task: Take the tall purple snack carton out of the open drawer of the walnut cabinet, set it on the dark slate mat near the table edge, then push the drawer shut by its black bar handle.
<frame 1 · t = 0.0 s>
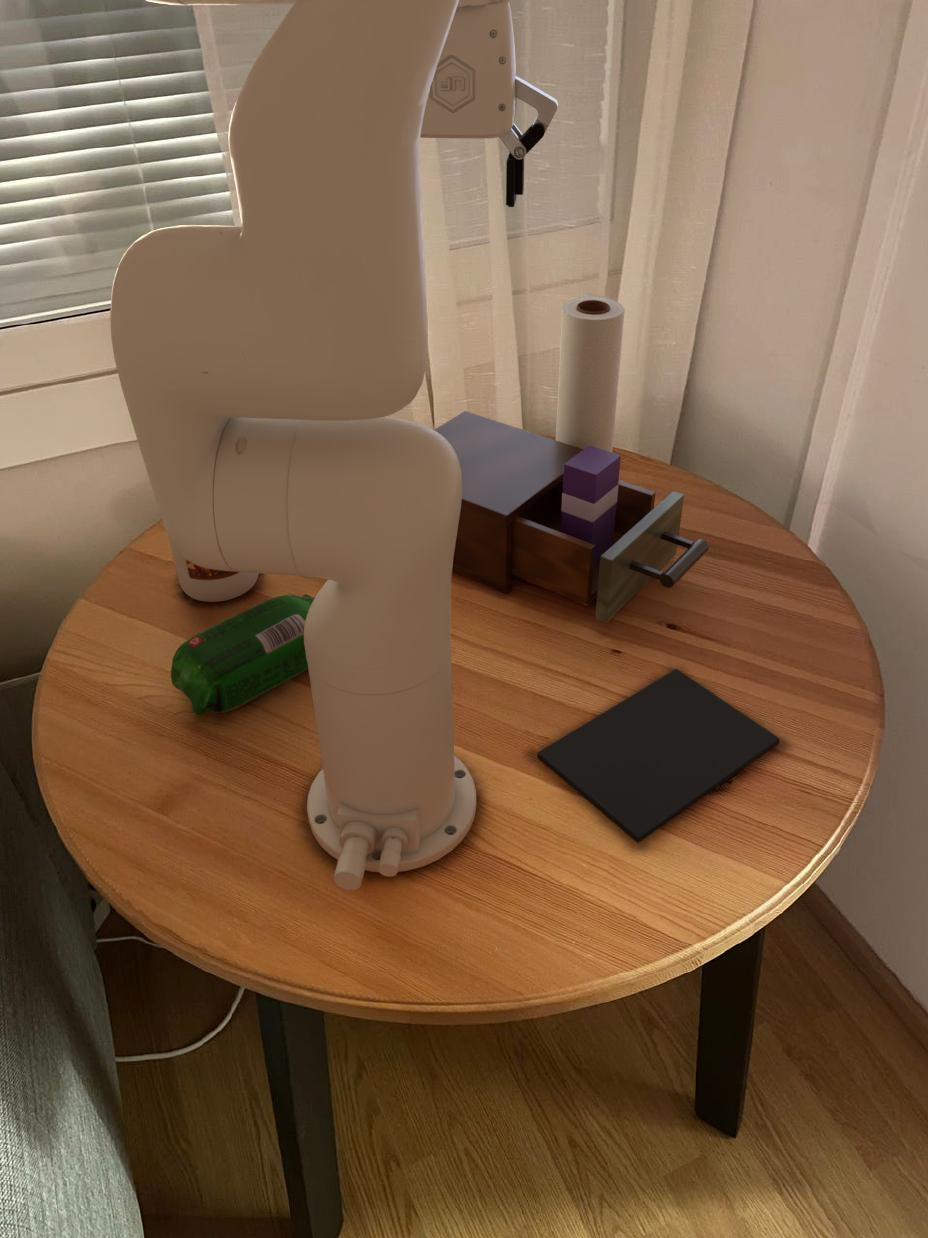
hand: (458, 201, 91), 31 cm above the table, tool pointing down, fingers open, 9 cm apart
mat: (658, 750, 80), on the table
paper towel roll: (582, 495, 111), on the table
cupcake: (295, 530, 106), on the table
cabinet: (484, 533, 105), on the table
snack package: (263, 674, 88), on the table
snack carton: (585, 555, 98), point 2 cm above the table, touching drawer
milk bottle: (220, 582, 99), on the table
drawer: (599, 539, 96), point 4 cm above the table, slide at 9.5 cm, touching snack carton
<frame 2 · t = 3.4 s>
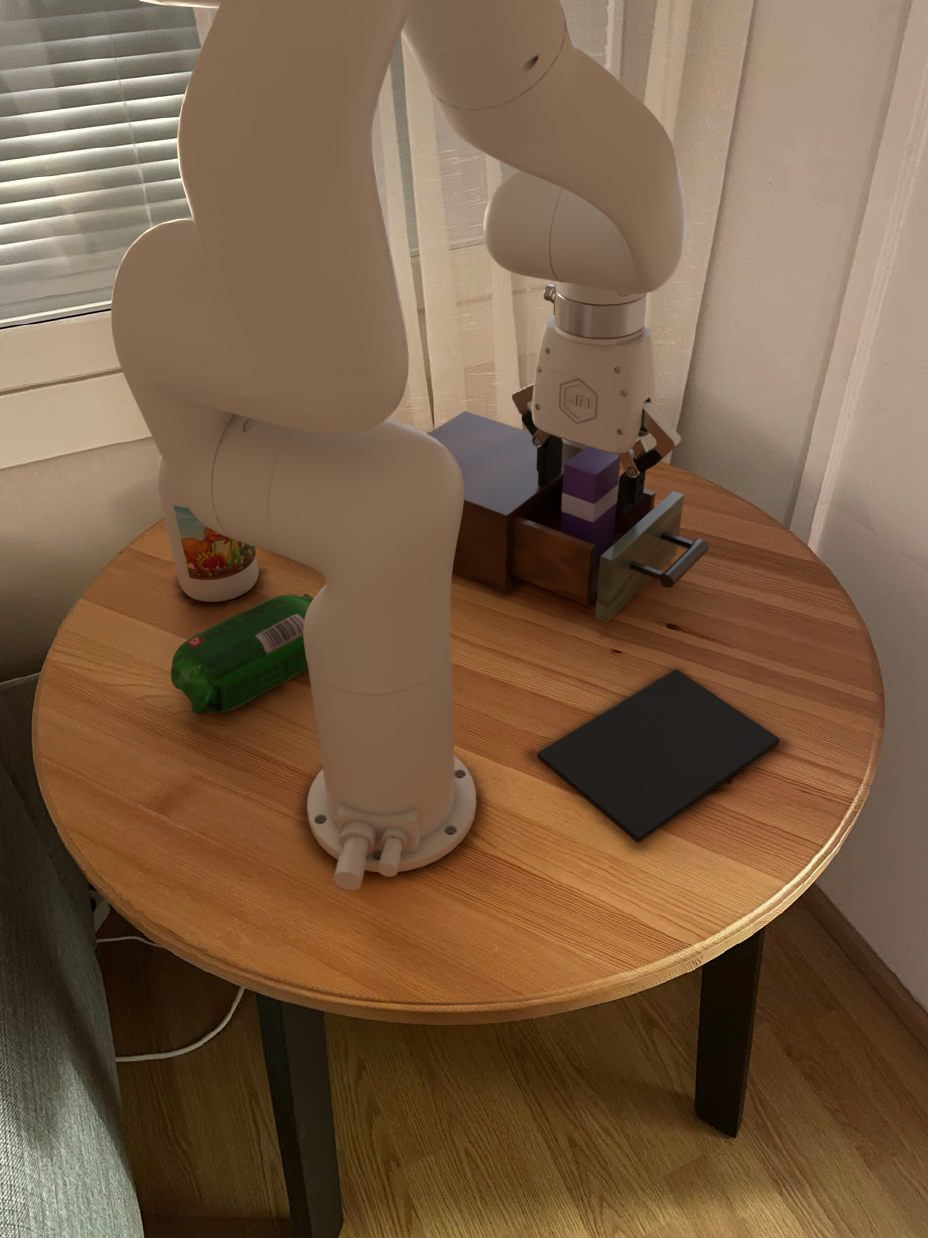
hand: (587, 492, 94), 9 cm above the table, tool pointing down, fingers open, 7 cm apart
nothing on the table moved.
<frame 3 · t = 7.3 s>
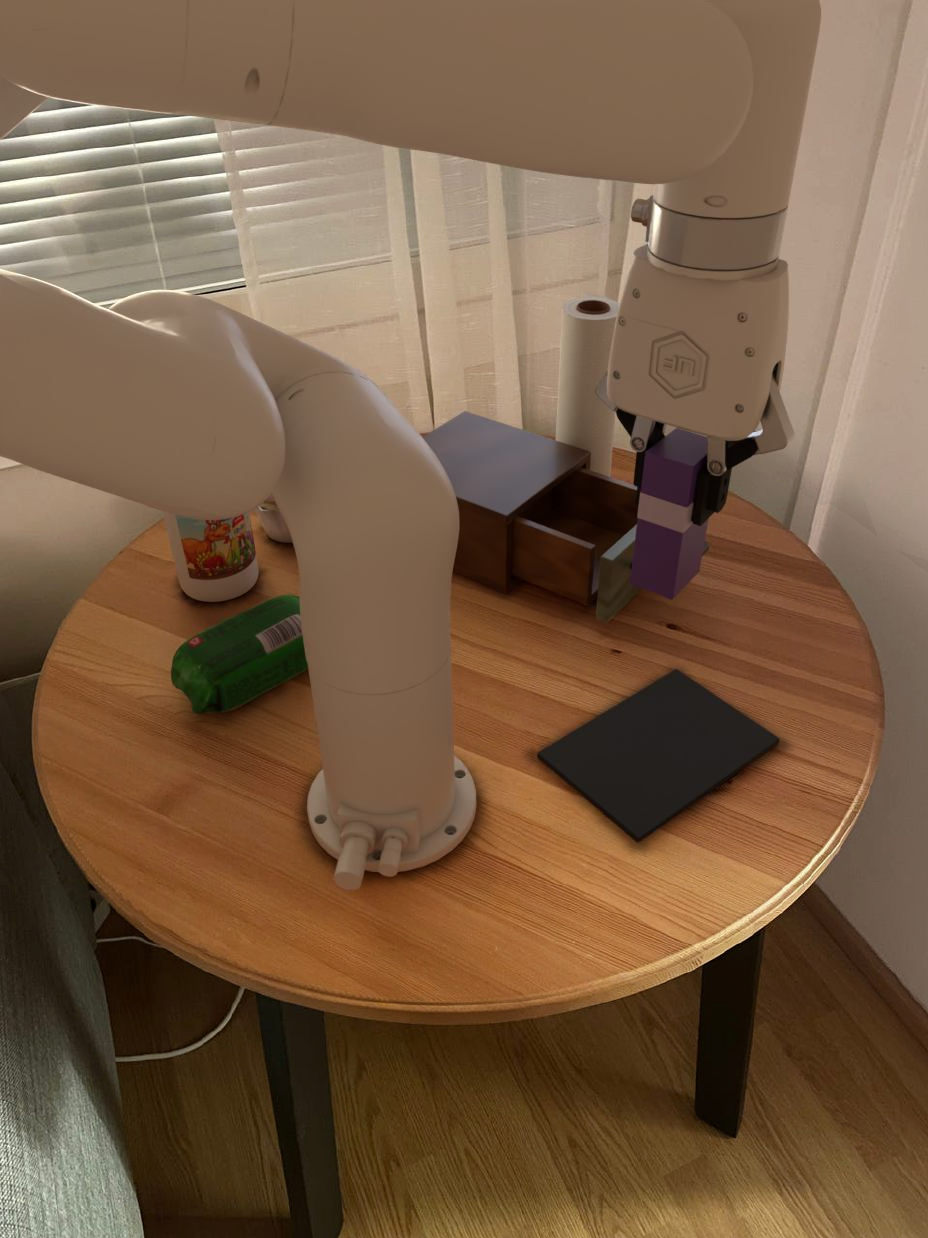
hand: (677, 504, 69), 21 cm above the table, tool pointing down, fingers closed on snack carton, 3 cm apart
snack carton: (664, 577, 72), point 15 cm above the table, touching gripper
drawer: (599, 539, 96), point 4 cm above the table, slide at 9.5 cm
everything else where it was.
when the fingers open (7 cm above the table, at t = 11.0 s): snack carton stays where it is, resting on mat.
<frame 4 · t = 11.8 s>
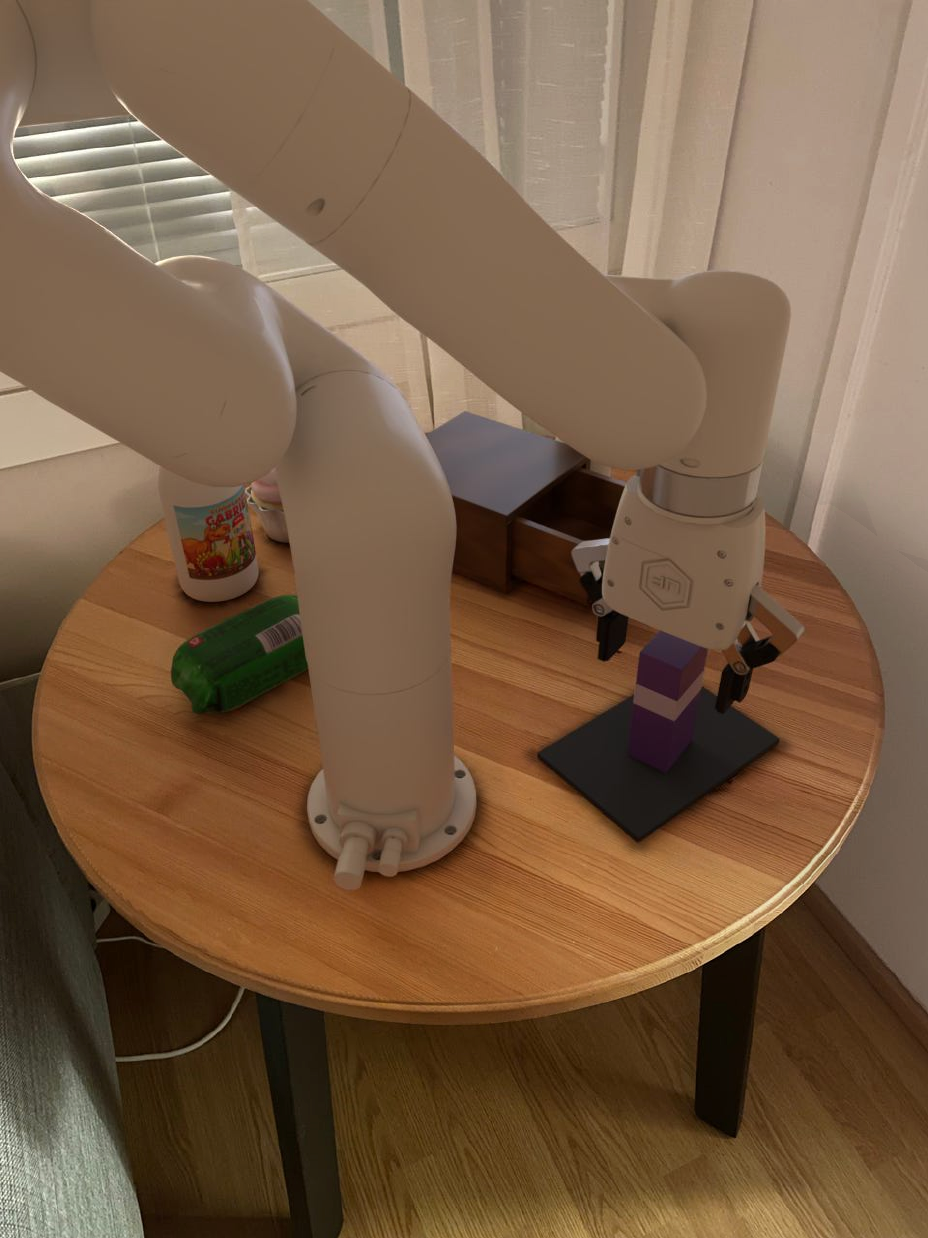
hand: (668, 676, 75), 8 cm above the table, tool pointing down, fingers open, 9 cm apart
snack carton: (659, 747, 79), point 1 cm above the table, touching mat
everything else where it was.
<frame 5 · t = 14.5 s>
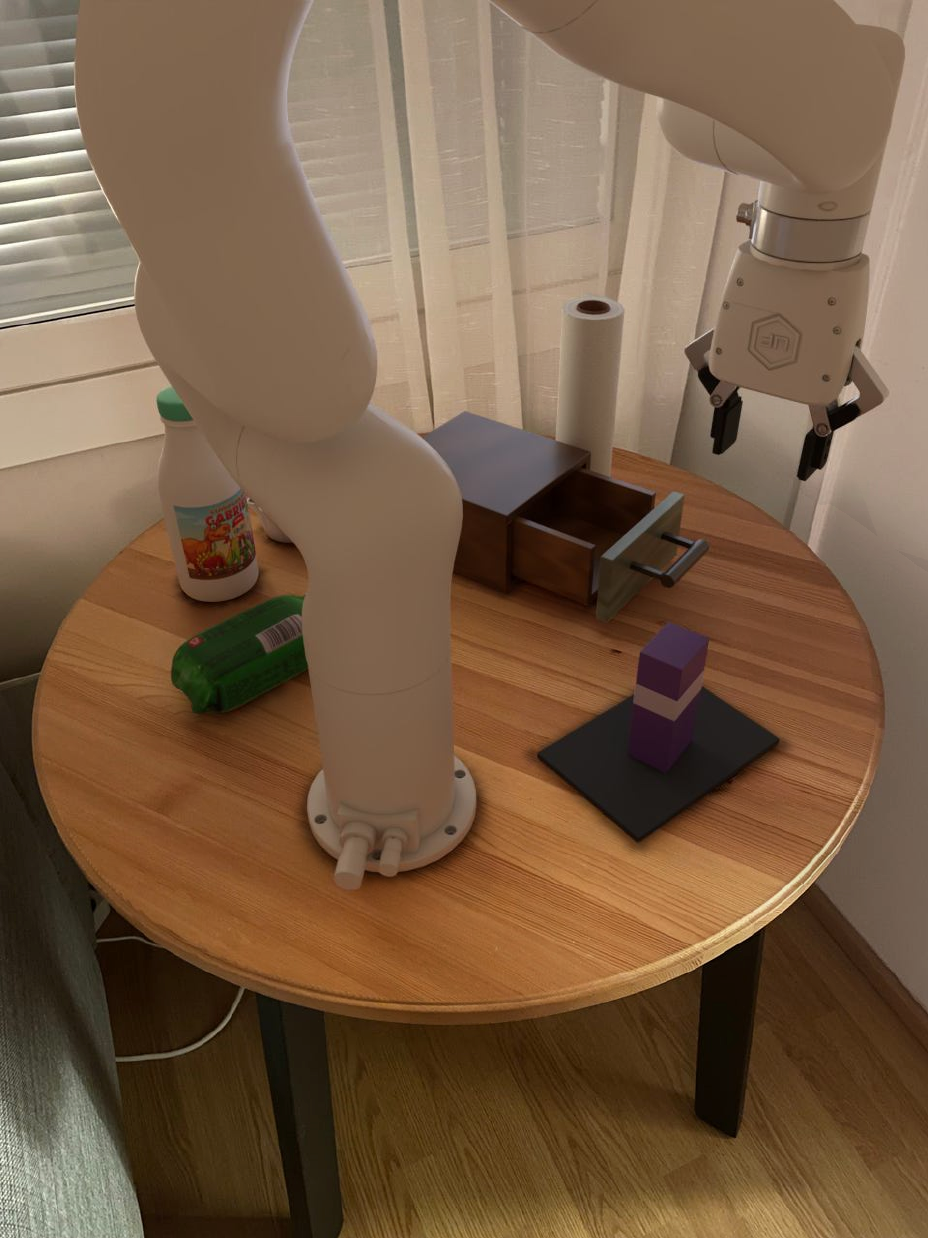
hand: (765, 458, 81), 18 cm above the table, tool pointing down, fingers open, 6 cm apart
nothing on the table moved.
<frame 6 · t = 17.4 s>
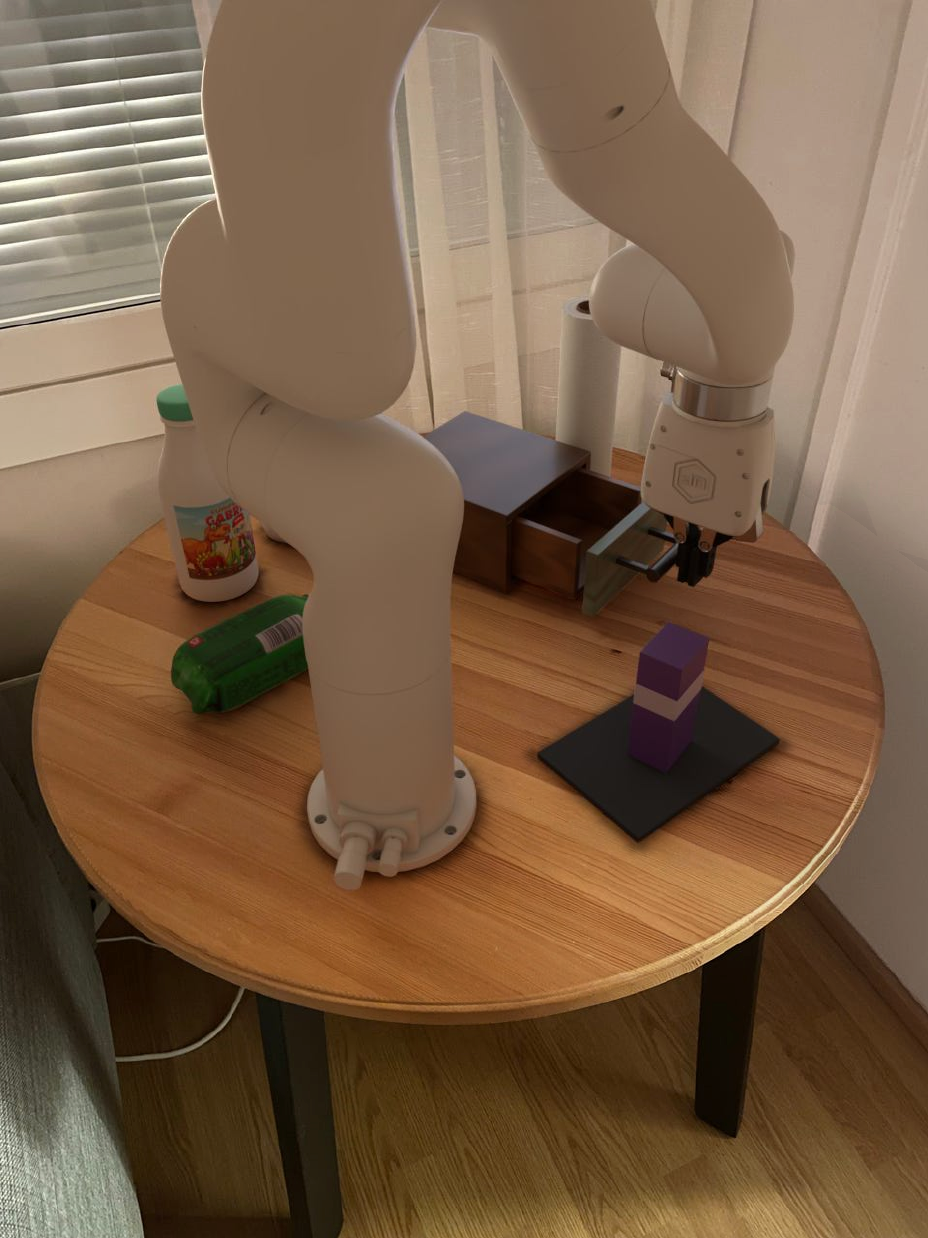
hand: (692, 577, 91), 4 cm above the table, tool pointing down, fingers closed
drawer: (586, 535, 96), point 4 cm above the table, slide at 8.1 cm, touching gripper
everything else where it was.
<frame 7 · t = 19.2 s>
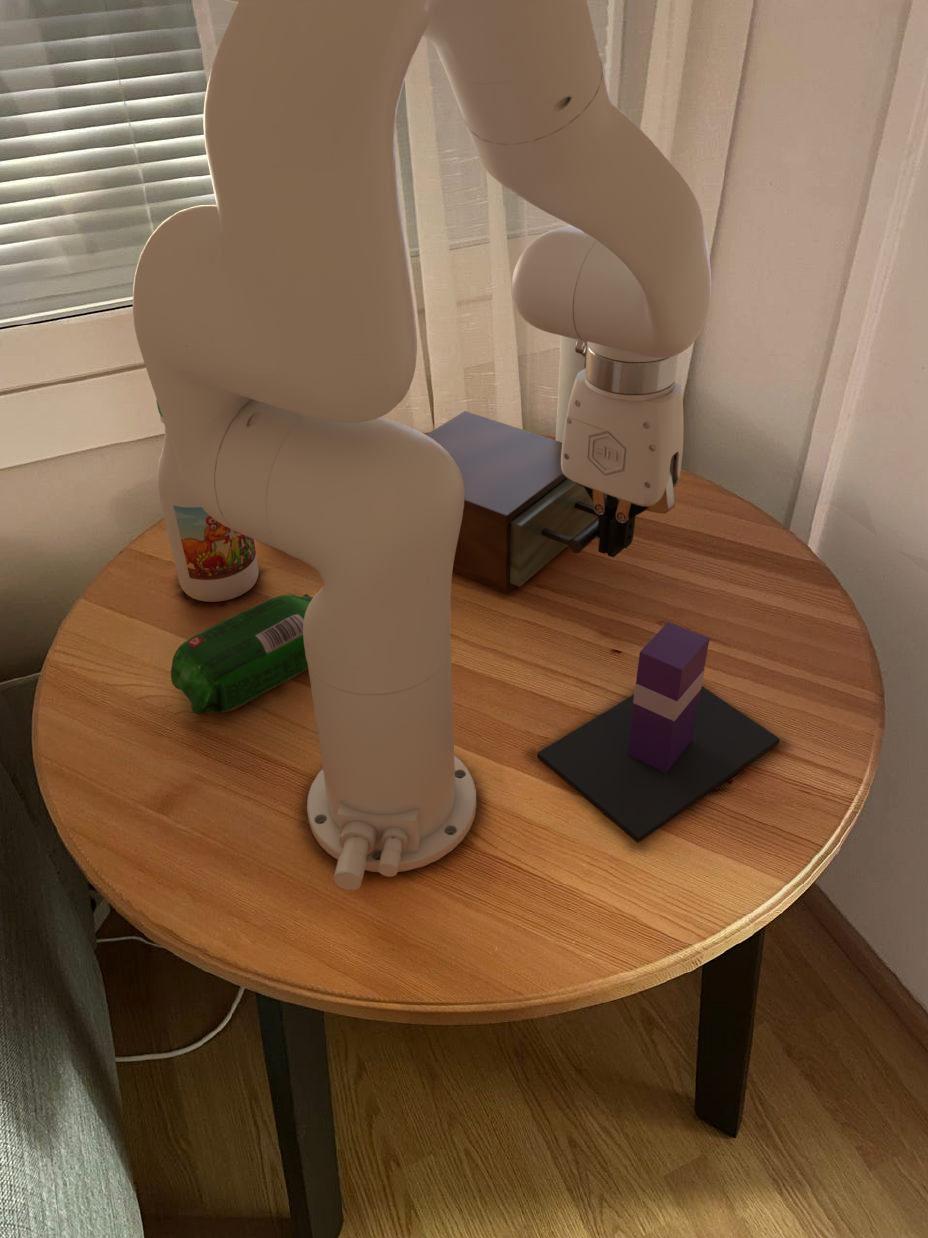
hand: (613, 548, 95), 4 cm above the table, tool pointing down, fingers closed
drawer: (517, 509, 100), point 4 cm above the table, slide at 0.0 cm, touching cabinet, gripper
everything else where it was.
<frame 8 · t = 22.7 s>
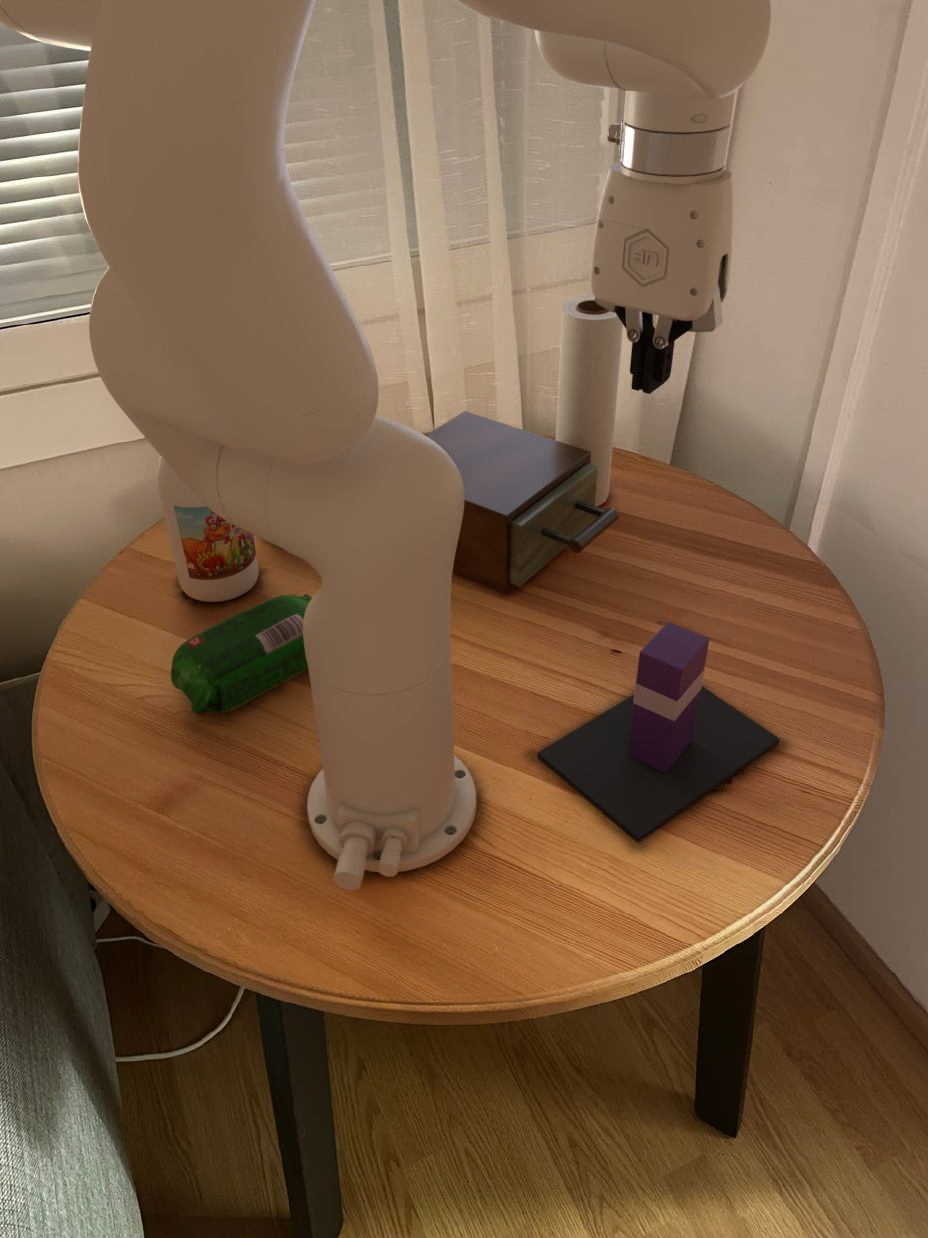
hand: (648, 385, 84), 21 cm above the table, tool pointing down, fingers closed
drawer: (517, 509, 100), point 4 cm above the table, slide at 0.0 cm, touching cabinet
everything else where it was.
at the end: snack carton inside the target area on the mat (0.2 cm from its centre), point 0.6 cm above the mat's base; snack carton tilted 0°; drawer slide at 0.0 cm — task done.
